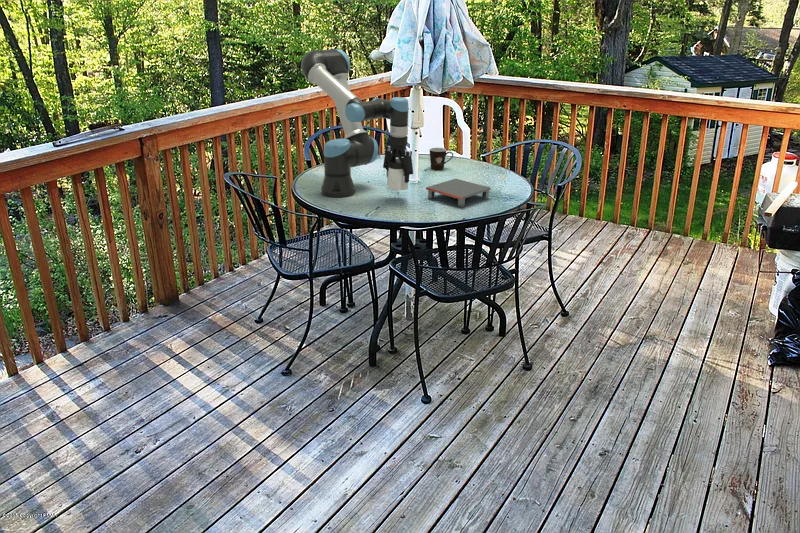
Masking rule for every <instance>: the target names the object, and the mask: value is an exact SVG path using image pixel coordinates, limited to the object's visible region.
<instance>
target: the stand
mask: <svg viewBox="0 0 800 533" xmlns="http://www.w3.org/2000/svg"><path fill="white" fill-rule="evenodd" d="M425 190H426V191H427V192H428V194H427V198H428V199H430V200H433V199H435V196H436V195H435V194H436V193H437V194H440V195H444V196H447V197H452V199H453V200H455V201H458V202H457V207H458V208H465V205H466V204H465V202H466V201H465V200H466V198H470V197H473V196H477V195H479V194H482V195H481V199H483V200H488V199H489V195H490V190H491V191H492V188H491V187H490V186H486V185H482V184H478V183H475V182H472V181H467V180H462V179H460V178H459V179H458V178H453V179H450V180H446V181H443V182H440V183H436V184H433V185H430V186H426V187H425Z"/></svg>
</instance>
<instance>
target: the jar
mask: <svg viewBox="0 0 800 533" xmlns="http://www.w3.org/2000/svg"><path fill="white" fill-rule="evenodd" d="M388 165H389V181H388V185H387V186H388V187H387V188H388V190H390V191H397V192H398V191H403V190H402V184H403V175H404V172H403V163H401V161H400V160H399V158H396V159H395V160H389V163H388Z"/></svg>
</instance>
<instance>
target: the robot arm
mask: <svg viewBox="0 0 800 533" xmlns="http://www.w3.org/2000/svg"><path fill="white" fill-rule="evenodd" d="M300 63H301V64H300V67H301V68H300V69H301V72H302V75H303V76H304V77H305V78H306V80H308V82H309V83H310V84H313V85H316V86H317V87H319V88H320V89H321V90H322V91H323V92H324V93H325V94H326V95H327V96H329V97H330V98H331V99H332V100H333V103H334V105H335V109H336V111H337V114H338V117H339V120H340V123H341V126H342V129H343V132H344V134H345V136H344V138H334V139H330V140H328V141H326V142H325V144H324V145H323V164H324V170H323V172H324V178H323V180H322V185H321V188H320V191H321V192H320V193H321V195H323V196H325V197H330V198H345V197H350V196H353V195H354V194H355V192H356V189H355V188H356V187H355V185H354V181H353V179H352V176H351V173H352V172H351V168H356V167H360V166H361V167H362V166H366V165H368V164H373V163H374V162H375V161H376V160H377V158H378V155H379V145H378V142H377V139H374V137H371V136H370V134H369V132H368V130H365V129H364V128H363V125H362V122H365V121H370V120H371V121H372V120H377V119H387V120H389V145H387V146H386V145H385V146H384V151H385V154H384V159H383V163H382V164H383V165H382V167H383V169H385V170H386V178H387V183H386V184H387V186H388V181H389V165H388V163H389V160H395V159H399V160H400V161H401V163H403V172H404V175H403V184H402V190H401V191H405V190H408V189H409V183H410V176H411V175H413V174H414V168H413V166H414V165H413V159H412V155H413V151H412V150H408V149H407V146H408V138H409V137H408V134H409V133H408V131H409V99H408V98H407V97H401V96H397V97H395V96H394V97H392V98H390V100H388V99H383V98H379V97H377V98H373V99H372V100H370V101H363V100H361V99H360V98H359V97H358V96H357V95H355V94H354V93H353V92H352V91H351V89H350V86H349V83H348V78H349V73H350V71H351V67H350V66H351V61H350V58H349V57H348V55H347V54H346V52H345V51H344V50H342V49H339V48H338V49H337V48H330V49H321V50H318V49H317V50H316V49H315V50H311V51H308V52H307V53H306V54H305V55H303V57H302V60H301V62H300Z"/></svg>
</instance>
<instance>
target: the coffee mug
mask: <svg viewBox="0 0 800 533" xmlns="http://www.w3.org/2000/svg"><path fill="white" fill-rule="evenodd" d="M447 154H451V157H450V158H449V159H448V160H446V157H447ZM429 158H430V159H429V161H430V170H432V171H437V170H439V171H444V169H445V168H444V167H445V165H446V164H447V163H448V162H449V161H451V160H452V159H453V158H454V153H453V152H452V151H447V149H446V148H445V147H444V148H443V147H430V148H429Z"/></svg>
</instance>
